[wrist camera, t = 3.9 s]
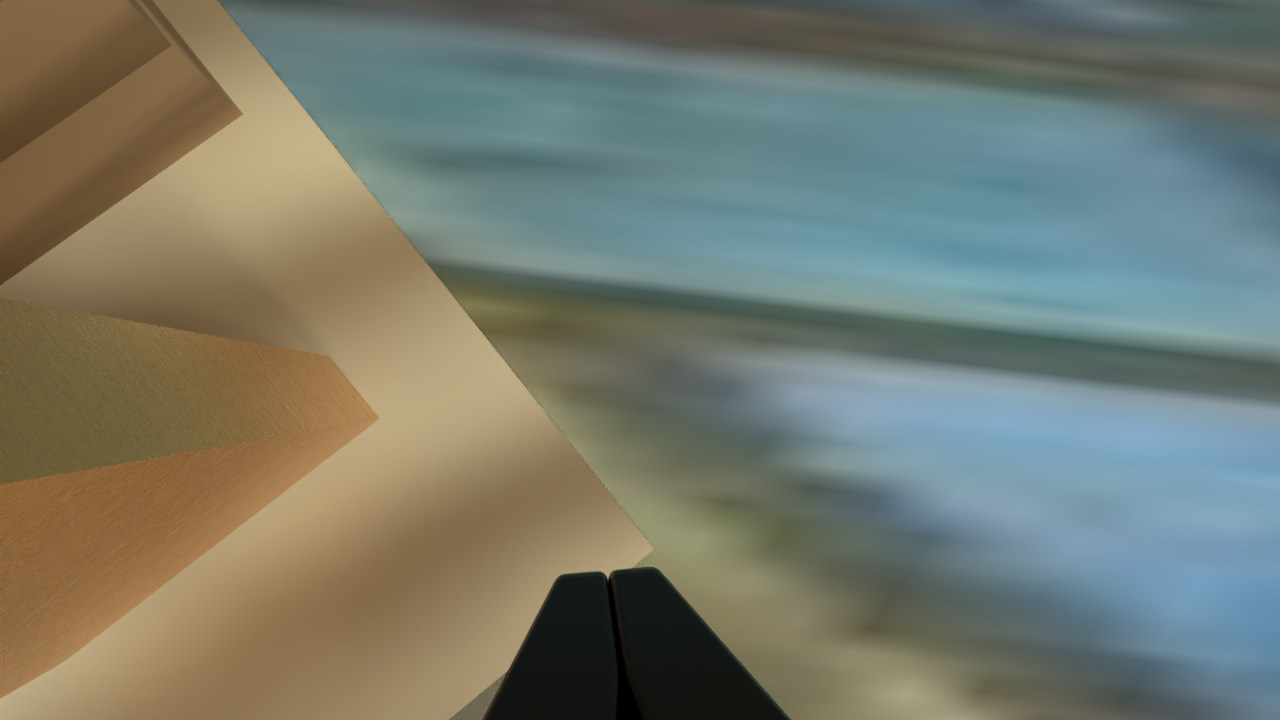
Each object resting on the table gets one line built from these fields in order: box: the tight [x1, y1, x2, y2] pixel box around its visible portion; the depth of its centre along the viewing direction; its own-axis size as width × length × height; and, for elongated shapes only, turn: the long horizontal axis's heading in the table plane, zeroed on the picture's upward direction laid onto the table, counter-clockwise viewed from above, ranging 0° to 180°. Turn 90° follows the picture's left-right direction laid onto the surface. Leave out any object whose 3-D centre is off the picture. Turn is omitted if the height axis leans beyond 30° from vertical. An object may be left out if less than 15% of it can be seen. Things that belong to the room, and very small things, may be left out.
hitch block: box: [0, 0, 654, 720], centre depth 13 cm, size 18×12×10 cm, turn 38°
